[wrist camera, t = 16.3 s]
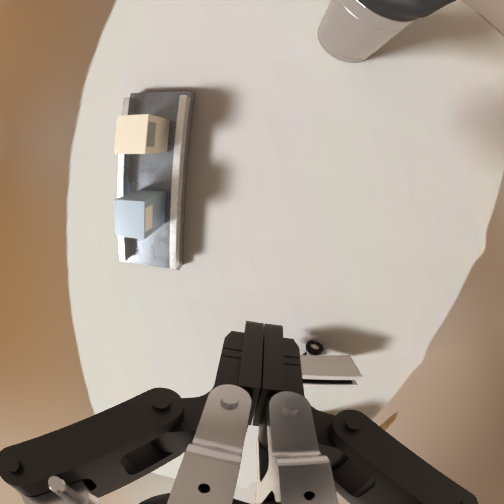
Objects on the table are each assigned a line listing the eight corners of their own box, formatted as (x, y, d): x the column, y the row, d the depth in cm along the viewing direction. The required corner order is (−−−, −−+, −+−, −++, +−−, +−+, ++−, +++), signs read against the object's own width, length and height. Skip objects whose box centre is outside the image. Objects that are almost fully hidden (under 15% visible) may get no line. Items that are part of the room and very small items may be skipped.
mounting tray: (136, 95, 37) (124, 91, 33) (194, 93, 37) (187, 88, 33) (130, 257, 47) (120, 266, 43) (182, 264, 46) (175, 274, 43)
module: (139, 189, 40) (114, 199, 33) (166, 191, 40) (144, 201, 33) (138, 220, 42) (114, 235, 35) (165, 223, 42) (144, 239, 34)
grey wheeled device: (343, 341, 52) (274, 338, 49) (364, 374, 43) (287, 377, 40) (335, 355, 54) (268, 354, 50) (354, 389, 45) (279, 393, 41)
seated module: (142, 120, 36) (116, 115, 29) (170, 119, 36) (148, 114, 29) (139, 151, 38) (113, 153, 31) (167, 152, 38) (145, 154, 31)
